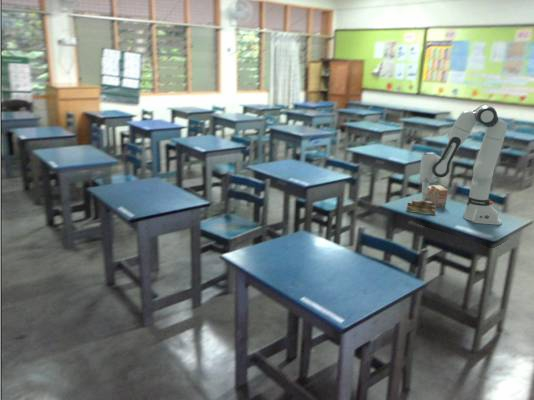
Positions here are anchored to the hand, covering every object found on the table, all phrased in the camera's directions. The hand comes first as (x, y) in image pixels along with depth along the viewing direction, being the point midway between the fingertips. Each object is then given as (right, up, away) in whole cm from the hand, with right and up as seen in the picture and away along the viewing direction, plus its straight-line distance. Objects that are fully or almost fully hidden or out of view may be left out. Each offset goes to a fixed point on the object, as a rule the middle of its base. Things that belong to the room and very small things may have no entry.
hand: (424, 197), depth 292 cm
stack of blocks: (+16, -4, +23) cm, 28 cm away
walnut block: (-1, -8, +3) cm, 9 cm away
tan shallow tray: (-1, -9, +3) cm, 10 cm away
